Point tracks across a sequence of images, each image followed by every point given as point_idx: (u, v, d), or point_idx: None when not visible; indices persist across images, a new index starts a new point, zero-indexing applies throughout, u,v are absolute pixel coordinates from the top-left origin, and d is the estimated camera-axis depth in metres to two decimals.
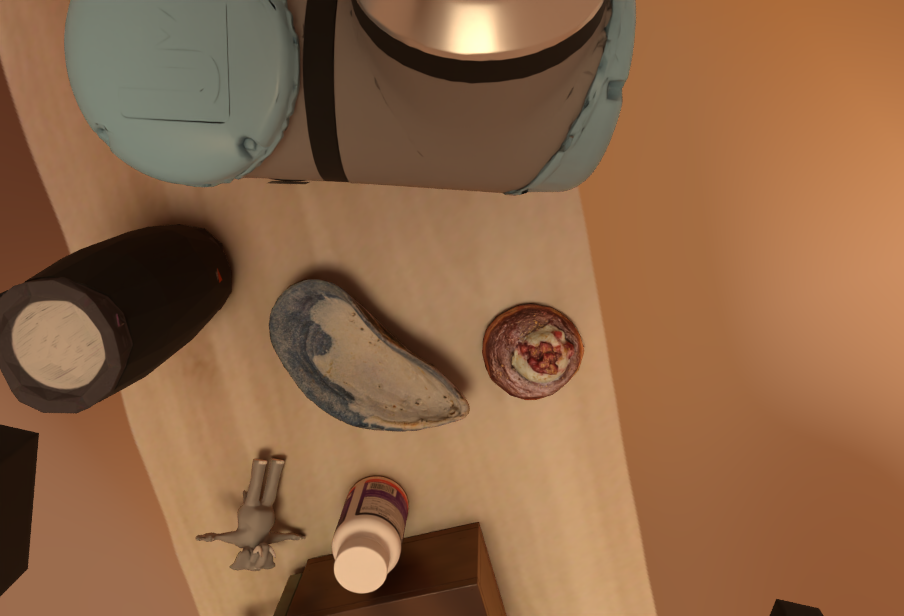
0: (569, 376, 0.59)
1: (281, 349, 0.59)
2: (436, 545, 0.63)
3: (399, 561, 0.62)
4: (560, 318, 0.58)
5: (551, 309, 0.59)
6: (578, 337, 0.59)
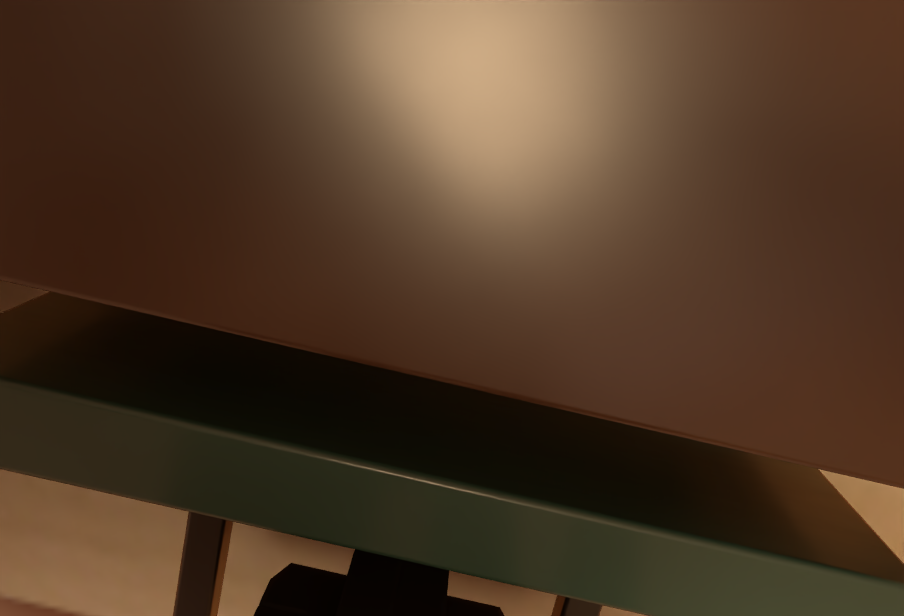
0: None
1: None
2: None
3: None
4: None
5: None
6: None
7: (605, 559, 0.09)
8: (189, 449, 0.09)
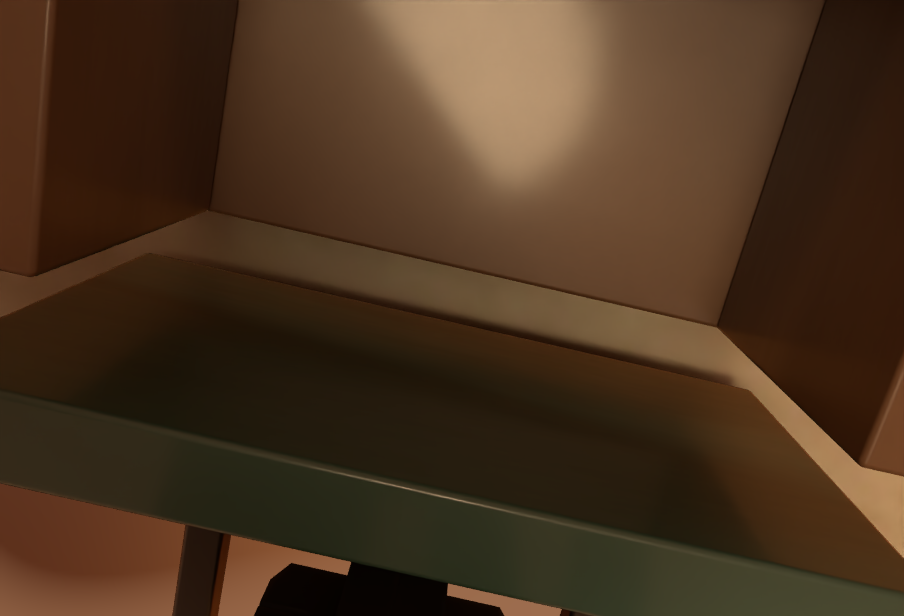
0: None
1: None
2: None
3: None
4: None
5: None
6: None
7: (612, 572, 0.09)
8: (184, 460, 0.09)
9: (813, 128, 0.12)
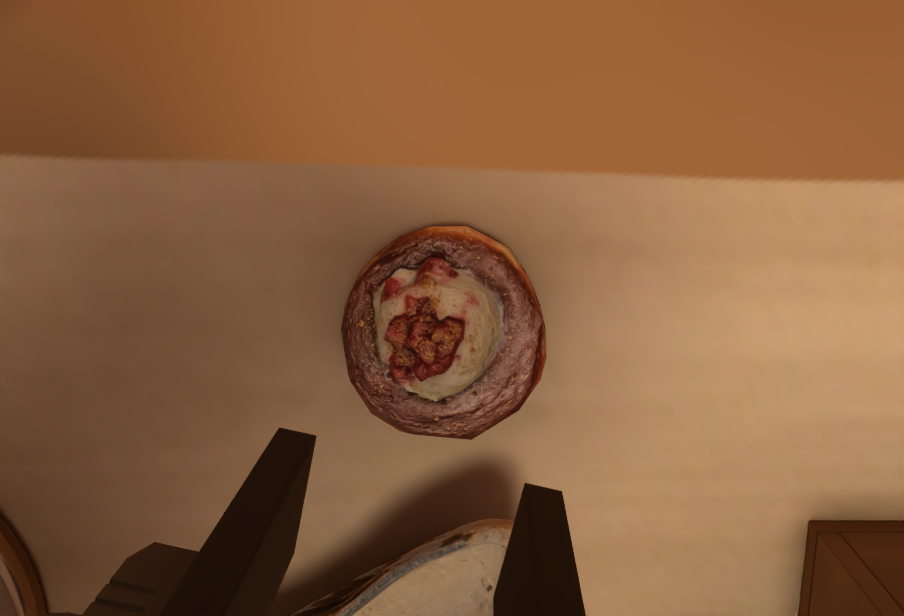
0: (506, 277, 0.26)
1: None
2: None
3: None
4: (376, 263, 0.26)
5: (360, 273, 0.27)
6: (430, 233, 0.26)
7: None
8: None
9: None
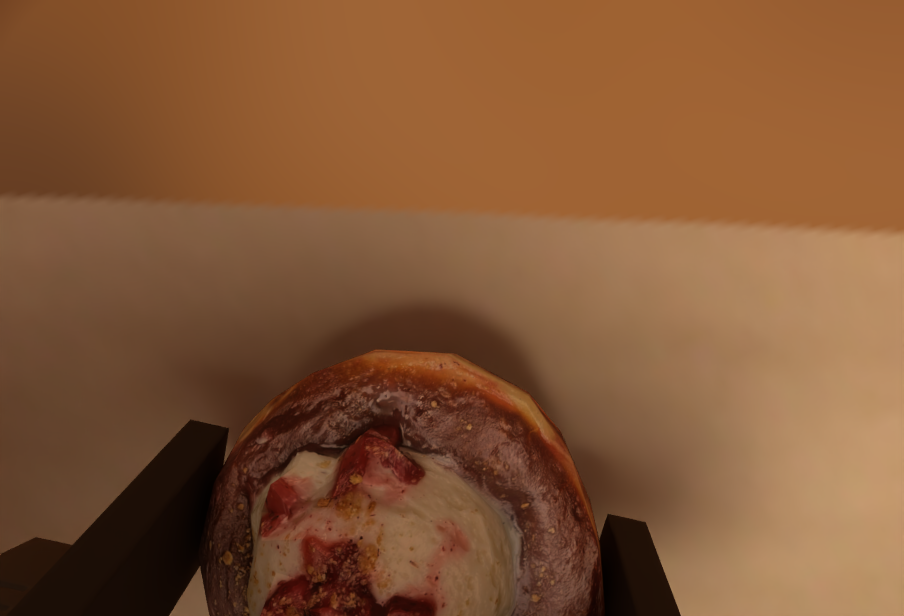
0: (528, 470, 0.12)
1: None
2: None
3: None
4: (263, 428, 0.13)
5: (239, 438, 0.14)
6: (371, 370, 0.13)
7: None
8: None
9: None
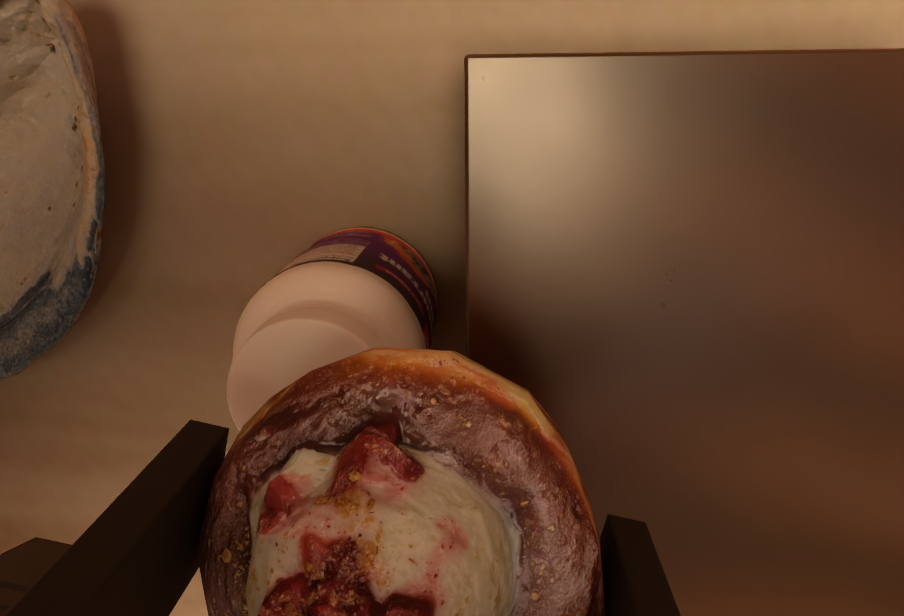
0: (527, 468, 0.12)
1: None
2: None
3: None
4: (263, 425, 0.13)
5: (238, 436, 0.14)
6: (370, 367, 0.13)
7: None
8: None
9: None
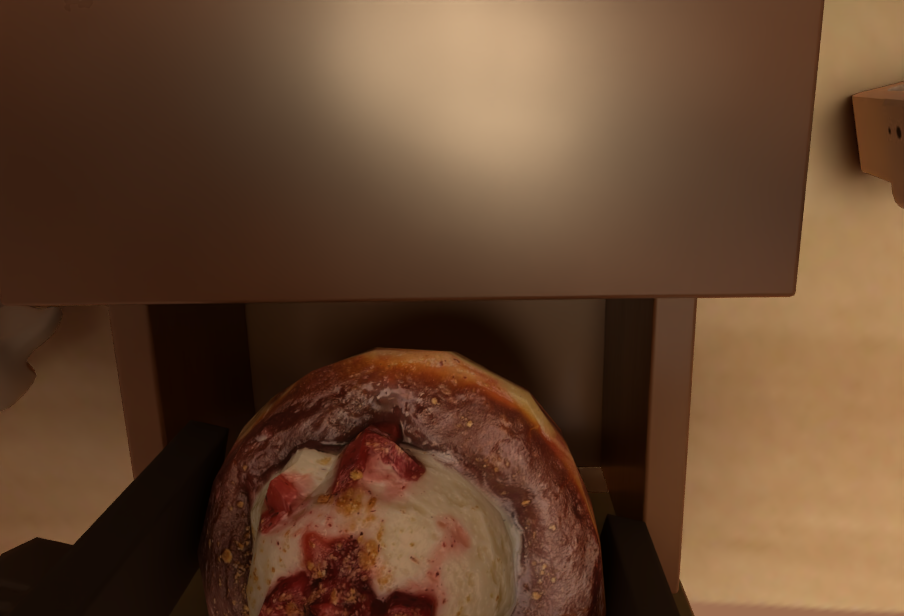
0: (528, 467, 0.12)
1: None
2: None
3: None
4: (263, 426, 0.13)
5: (239, 437, 0.14)
6: (371, 367, 0.13)
7: None
8: None
9: (611, 356, 0.18)
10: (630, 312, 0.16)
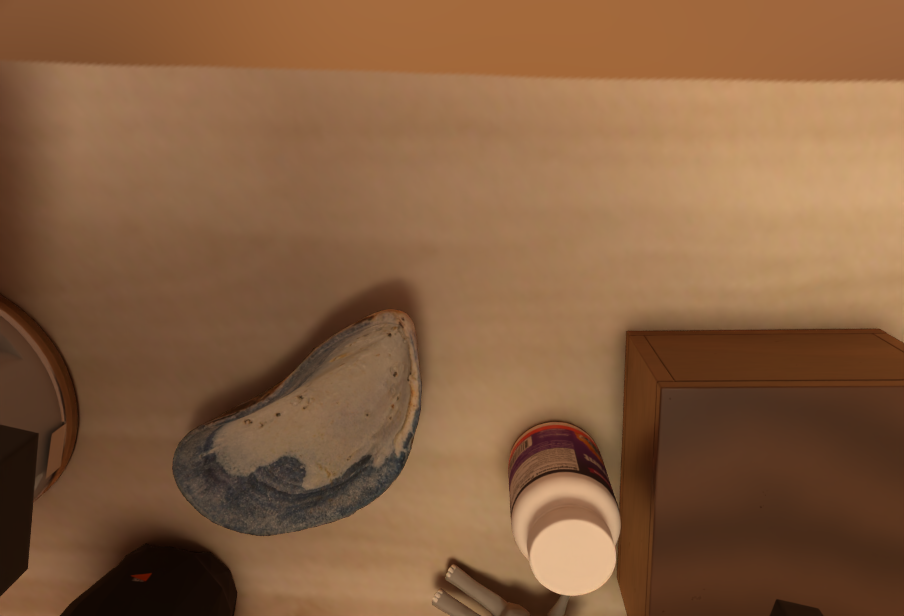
0: None
1: (275, 526, 0.43)
2: (631, 407, 0.40)
3: (633, 471, 0.40)
4: None
5: None
6: None
7: None
8: None
9: None
10: None
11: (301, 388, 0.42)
